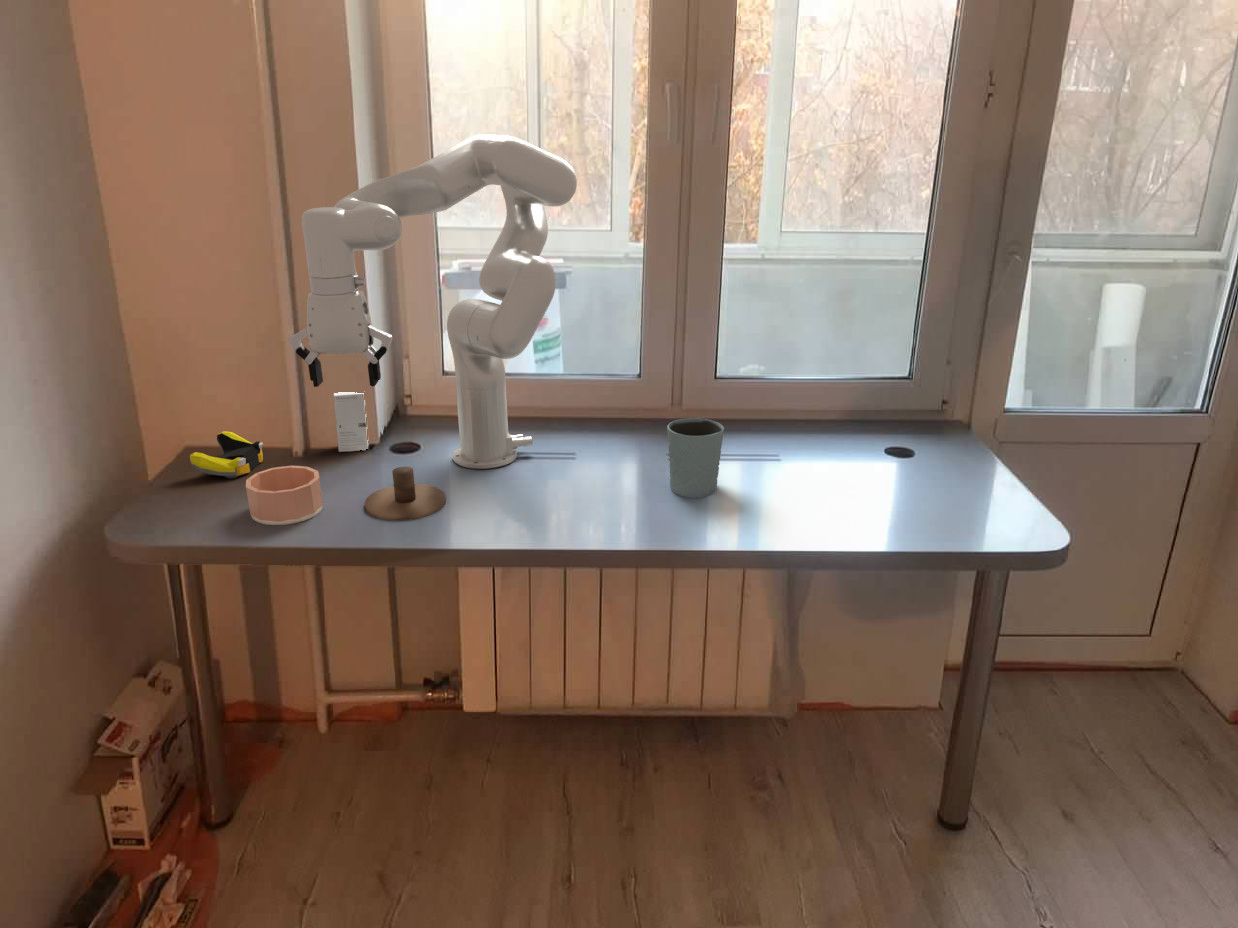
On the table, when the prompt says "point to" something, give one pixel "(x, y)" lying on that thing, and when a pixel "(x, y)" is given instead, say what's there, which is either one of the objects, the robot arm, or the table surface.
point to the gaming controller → (230, 457)
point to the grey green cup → (694, 456)
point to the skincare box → (350, 421)
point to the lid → (405, 498)
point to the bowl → (284, 495)
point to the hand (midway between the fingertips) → (346, 384)
